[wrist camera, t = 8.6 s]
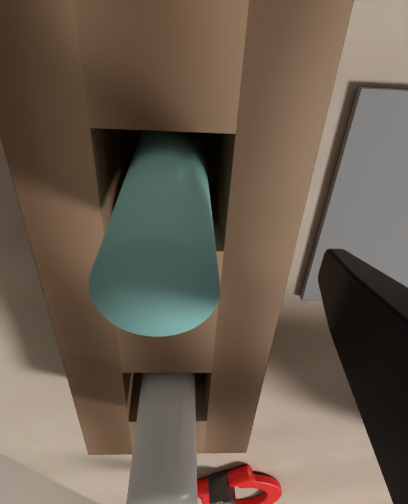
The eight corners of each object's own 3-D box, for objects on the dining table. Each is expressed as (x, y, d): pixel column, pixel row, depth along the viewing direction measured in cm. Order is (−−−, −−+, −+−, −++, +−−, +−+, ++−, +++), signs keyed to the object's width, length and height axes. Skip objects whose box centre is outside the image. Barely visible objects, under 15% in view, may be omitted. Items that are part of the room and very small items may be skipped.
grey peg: (194, 312, 22) (199, 489, 14) (193, 344, 24) (196, 518, 16) (147, 312, 22) (123, 491, 14) (149, 344, 24) (128, 520, 16)
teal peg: (202, 180, 17) (215, 337, 9) (140, 178, 17) (97, 336, 9) (205, 116, 16) (226, 238, 7) (137, 113, 15) (79, 235, 7)
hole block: (303, -5, 13) (355, -9, 9) (237, 384, 27) (246, 452, 23) (29, -23, 13) (-47, -36, 9) (103, 384, 26) (88, 454, 22)
